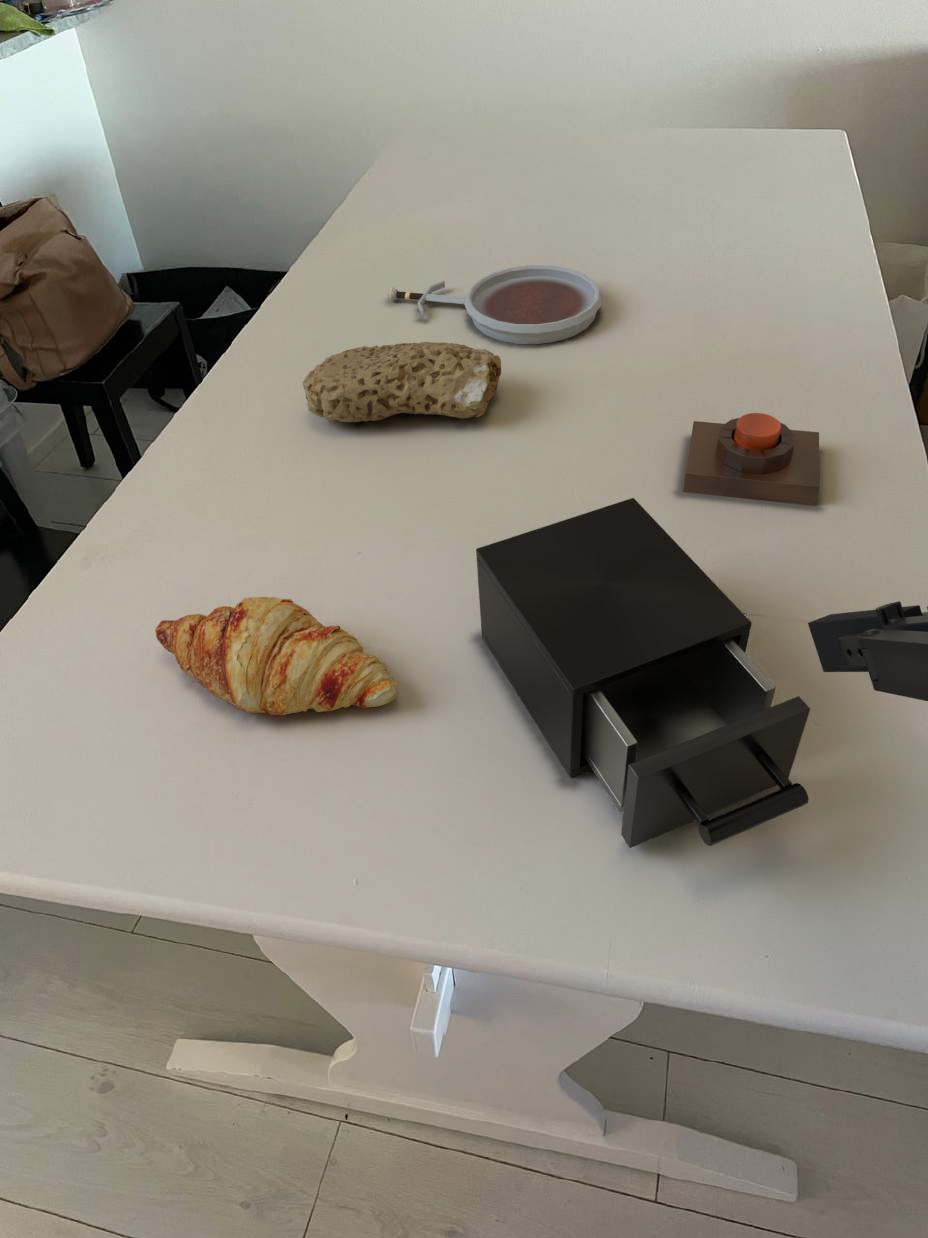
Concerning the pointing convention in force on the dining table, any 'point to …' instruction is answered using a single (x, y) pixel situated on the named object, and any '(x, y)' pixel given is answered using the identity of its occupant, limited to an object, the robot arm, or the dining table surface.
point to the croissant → (276, 659)
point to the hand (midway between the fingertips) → (827, 643)
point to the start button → (757, 431)
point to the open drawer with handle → (694, 745)
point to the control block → (753, 465)
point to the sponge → (403, 382)
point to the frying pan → (524, 303)
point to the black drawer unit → (594, 612)
